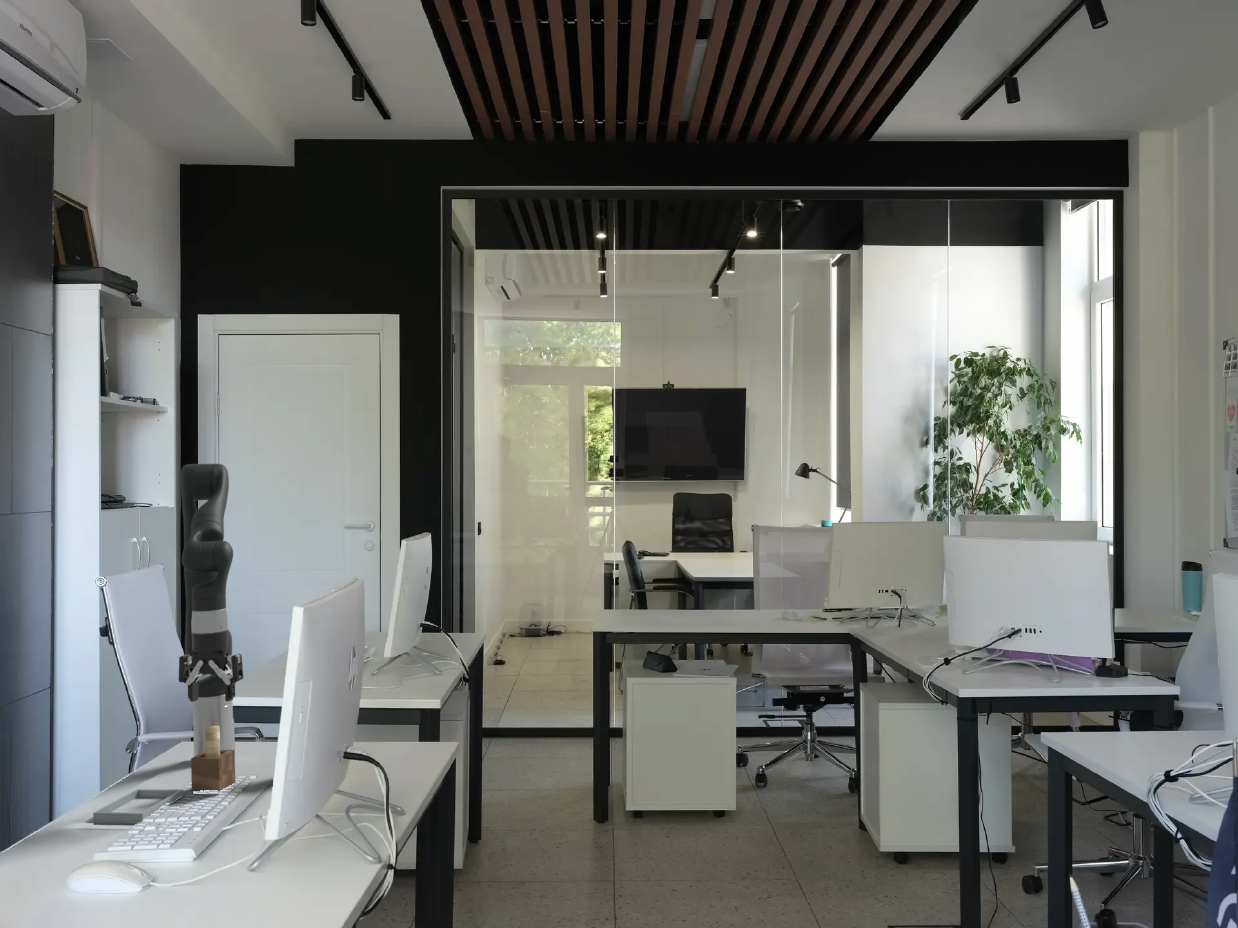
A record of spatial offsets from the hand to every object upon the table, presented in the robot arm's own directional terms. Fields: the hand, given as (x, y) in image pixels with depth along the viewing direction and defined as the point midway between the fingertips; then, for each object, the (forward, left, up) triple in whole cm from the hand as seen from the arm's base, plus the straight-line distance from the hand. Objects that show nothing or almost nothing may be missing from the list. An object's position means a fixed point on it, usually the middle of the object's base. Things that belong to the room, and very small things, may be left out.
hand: (211, 700), depth 209 cm
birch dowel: (0, 0, -20) cm, 20 cm away
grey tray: (+12, -10, -21) cm, 26 cm away
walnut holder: (0, 0, -21) cm, 21 cm away
